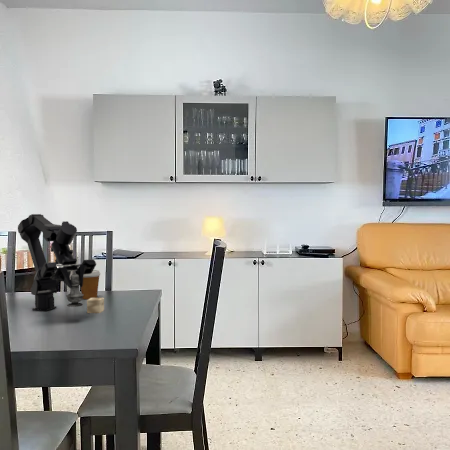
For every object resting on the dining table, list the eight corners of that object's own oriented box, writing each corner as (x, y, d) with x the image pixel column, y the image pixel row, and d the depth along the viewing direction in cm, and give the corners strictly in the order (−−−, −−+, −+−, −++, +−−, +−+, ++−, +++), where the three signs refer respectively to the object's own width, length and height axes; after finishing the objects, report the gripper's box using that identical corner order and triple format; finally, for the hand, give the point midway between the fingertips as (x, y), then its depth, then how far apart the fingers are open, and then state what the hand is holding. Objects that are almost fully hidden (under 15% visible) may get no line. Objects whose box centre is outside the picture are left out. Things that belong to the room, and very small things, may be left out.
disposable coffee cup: (97, 300, 201) (96, 272, 200) (75, 300, 201) (75, 272, 200) (103, 296, 210) (102, 269, 210) (82, 296, 210) (82, 269, 210)
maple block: (87, 313, 176) (86, 300, 176) (91, 310, 181) (91, 297, 181) (100, 313, 176) (99, 300, 175) (104, 310, 181) (103, 297, 180)
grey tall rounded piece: (78, 307, 159) (78, 272, 159) (62, 306, 160) (62, 272, 160) (86, 303, 165) (86, 270, 164) (71, 303, 166) (71, 269, 166)
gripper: (80, 265, 180) (93, 297, 172) (31, 269, 167) (43, 304, 159) (89, 246, 174) (103, 279, 166) (39, 249, 161) (52, 284, 153)
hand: (76, 287), depth 161 cm, fingers closed on grey tall rounded piece, 4 cm apart
